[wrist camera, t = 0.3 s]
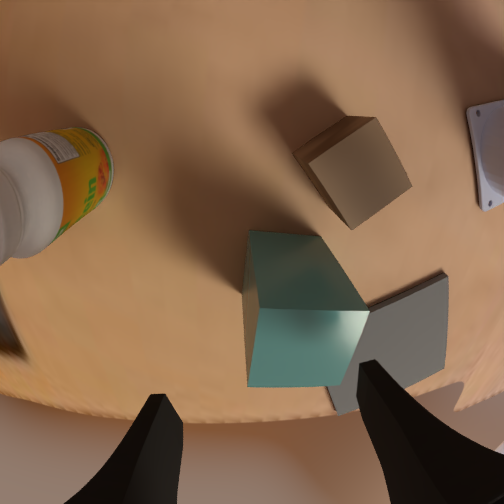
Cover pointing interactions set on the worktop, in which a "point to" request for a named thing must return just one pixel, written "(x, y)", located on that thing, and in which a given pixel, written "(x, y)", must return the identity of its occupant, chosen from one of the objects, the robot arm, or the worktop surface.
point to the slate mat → (400, 339)
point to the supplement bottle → (49, 186)
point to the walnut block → (354, 168)
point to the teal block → (297, 312)
